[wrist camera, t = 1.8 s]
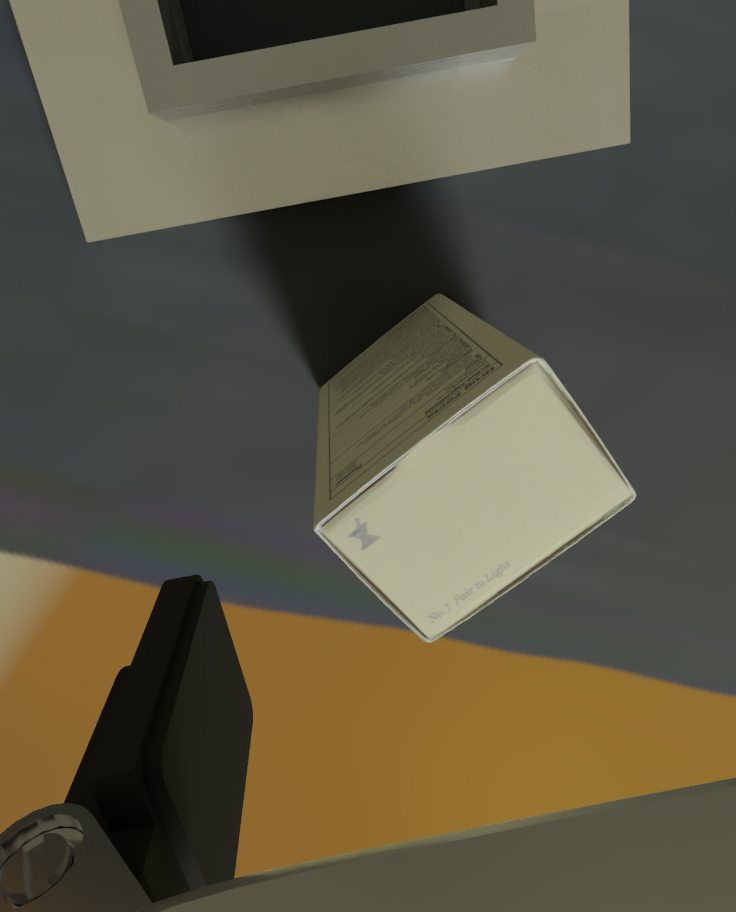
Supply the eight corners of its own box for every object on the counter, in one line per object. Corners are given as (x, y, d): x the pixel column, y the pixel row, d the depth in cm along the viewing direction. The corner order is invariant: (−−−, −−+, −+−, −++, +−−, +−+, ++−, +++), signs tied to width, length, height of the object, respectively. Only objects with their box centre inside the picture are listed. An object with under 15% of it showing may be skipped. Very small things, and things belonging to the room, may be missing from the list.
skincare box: (383, 463, 26) (422, 657, 15) (313, 384, 25) (300, 534, 14) (506, 369, 25) (649, 504, 14) (440, 280, 24) (540, 351, 12)
